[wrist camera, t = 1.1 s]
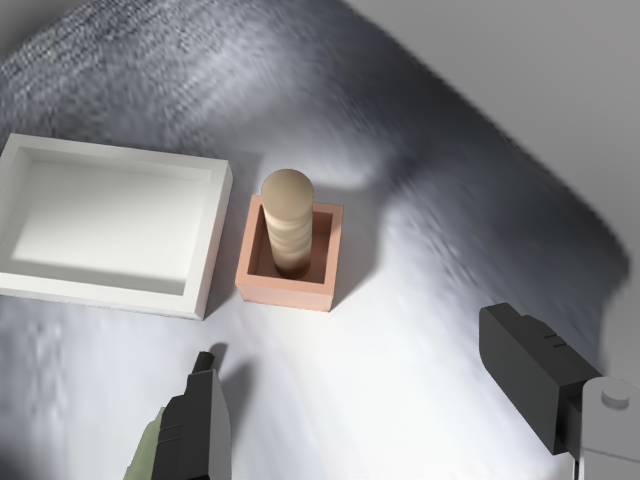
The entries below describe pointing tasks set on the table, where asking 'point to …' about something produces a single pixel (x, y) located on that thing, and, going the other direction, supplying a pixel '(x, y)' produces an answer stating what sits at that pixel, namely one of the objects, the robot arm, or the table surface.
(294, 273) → the dowel pin
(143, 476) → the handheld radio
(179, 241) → the tray
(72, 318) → the table surface
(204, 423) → the robot arm
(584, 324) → the table surface
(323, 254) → the pot
